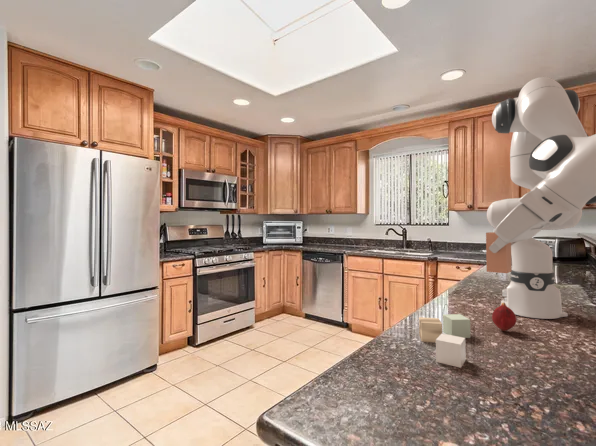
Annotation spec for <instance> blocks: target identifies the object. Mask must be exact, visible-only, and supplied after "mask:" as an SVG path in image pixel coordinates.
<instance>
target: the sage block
mask: <svg viewBox="0 0 596 446" xmlns="http://www.w3.org/2000/svg"><path fill="white" fill-rule="evenodd" d="M442 333H443V334H447V335H453V336H458V337H463V338H465V339H471V319H470V318H468V317H466V316H465V315H463V314H461V313H457V314H451V313H450V314H442Z"/></svg>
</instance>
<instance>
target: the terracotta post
mask: <svg viewBox="0 0 596 446" xmlns="http://www.w3.org/2000/svg"><path fill="white" fill-rule="evenodd" d="M498 237H499V236H498V235H497V234H495V232H493V231H492V232H486V233H485V242H486V243H485V247H486V249H485V253H486V254H485V256H486V272H488V273H499V274H510V273H511V271H512V256H511V243H508V244H506V245H505V246H504V247H503V248H502V249H501V250H500V251H499V252H497V253H493V252H492V251H491V250H489V247H490V246H491V245H492V244H493V243H494V242H495V241H496V239H497V238H498Z"/></svg>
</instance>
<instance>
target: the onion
mask: <svg viewBox="0 0 596 446" xmlns="http://www.w3.org/2000/svg"><path fill="white" fill-rule="evenodd" d="M500 305H501V306H498V307H496V308H495V309H493V312H492V313H491V320H492V322H493V324H494V325H495V326H496V327H497V328H498V329H500V331H502V332H507V331H509V330H510V329H512V328H513V327H515V325H516V324H517V316H516V314H514V312H513V311H512V310H511V309H510V308H508V307H507V306H506V304H505V303H502V304H501V303H500Z"/></svg>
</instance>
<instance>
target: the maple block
mask: <svg viewBox="0 0 596 446" xmlns="http://www.w3.org/2000/svg"><path fill="white" fill-rule="evenodd" d="M441 334H443V322H442V321H441V320H440V318H439V317H422V316H420V317H418V335H419V338H420V341H421V342H423V343H435V344H436V339H437V338H438V337H439V336H440V335H441Z"/></svg>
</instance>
